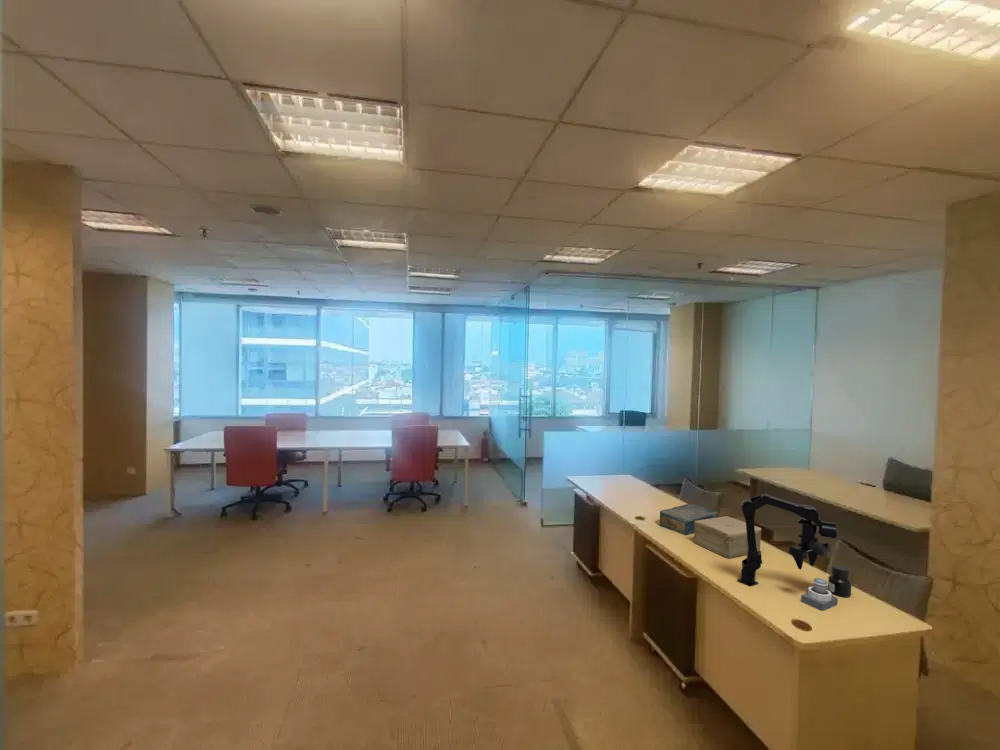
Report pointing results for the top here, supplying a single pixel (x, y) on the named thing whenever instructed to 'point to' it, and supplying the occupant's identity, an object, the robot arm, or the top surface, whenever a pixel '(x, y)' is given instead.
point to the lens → (820, 586)
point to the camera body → (819, 599)
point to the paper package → (724, 536)
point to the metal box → (684, 517)
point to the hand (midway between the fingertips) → (805, 567)
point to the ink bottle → (840, 581)
